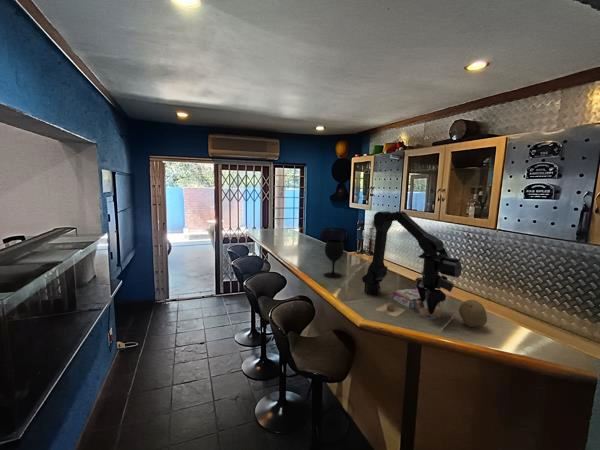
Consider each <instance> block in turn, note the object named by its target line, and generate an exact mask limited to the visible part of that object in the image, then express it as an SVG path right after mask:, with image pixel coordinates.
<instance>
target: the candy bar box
mask: <svg viewBox="0 0 600 450" xmlns="http://www.w3.org/2000/svg"><path fill="white" fill-rule="evenodd" d="M392 297H393V298H392V299H393V300H394V301H396V302H397V303H399V304H400V305H403V306H404V307H406V308H408V309H409V310H410V309H414V308H415V301H421V298H420V296H419V293H418V290H417V287H415V288H409V289H399V290H398V289H397V290H393V296H392ZM440 304H441V302H439V303H438V304H437V306H440Z"/></svg>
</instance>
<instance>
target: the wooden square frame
mask: <svg viewBox="0 0 600 450" xmlns="http://www.w3.org/2000/svg"><path fill="white" fill-rule="evenodd" d="M423 302H424V301H415V308H416V310H417V311H418V313H419V314H420V315H422V316H436V317H440V314H441V311H442V309H441V308H440V307H439V305H437V306H436V308H435V310H434V312H433V314H430V313H429V310H428V307H423ZM440 318H441V317H440Z"/></svg>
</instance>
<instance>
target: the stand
mask: <svg viewBox="0 0 600 450" xmlns="http://www.w3.org/2000/svg"><path fill="white" fill-rule="evenodd" d="M374 311H377V312H380V313H383V314H386V315H390V316H393V317H398V316H400V315H401V314H402V313H403V312H405V311H406V309H404V308H401V307H397V306H395V304H394V303H392V302H388V303H384V304H382V305H380V306H379V307H377V308H376V309H374Z"/></svg>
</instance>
